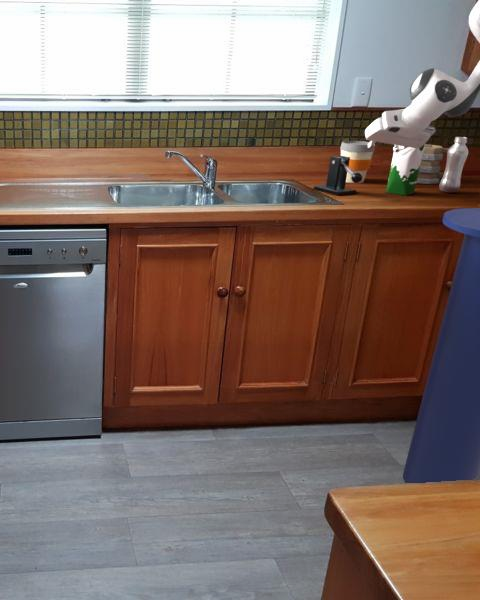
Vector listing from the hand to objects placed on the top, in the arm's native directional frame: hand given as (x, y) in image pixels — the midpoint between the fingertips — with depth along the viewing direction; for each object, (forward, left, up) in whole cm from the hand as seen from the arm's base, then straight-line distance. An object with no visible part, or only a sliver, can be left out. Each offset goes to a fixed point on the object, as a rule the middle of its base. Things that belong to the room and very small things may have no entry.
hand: (382, 148), depth 206 cm
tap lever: (+13, +1, -11) cm, 17 cm away
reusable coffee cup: (+30, -21, -18) cm, 41 cm away
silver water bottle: (0, -38, -18) cm, 43 cm away
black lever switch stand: (+17, +1, -18) cm, 25 cm away
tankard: (+16, -50, -18) cm, 56 cm away
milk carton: (+6, -20, -18) cm, 28 cm away
